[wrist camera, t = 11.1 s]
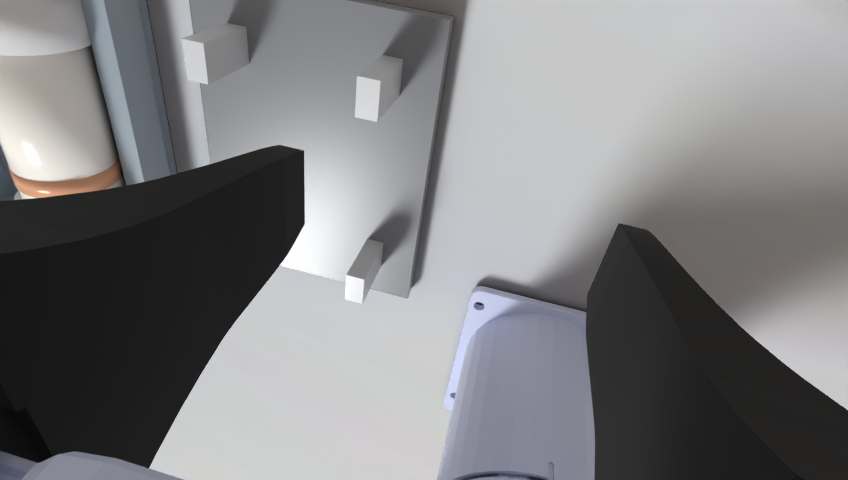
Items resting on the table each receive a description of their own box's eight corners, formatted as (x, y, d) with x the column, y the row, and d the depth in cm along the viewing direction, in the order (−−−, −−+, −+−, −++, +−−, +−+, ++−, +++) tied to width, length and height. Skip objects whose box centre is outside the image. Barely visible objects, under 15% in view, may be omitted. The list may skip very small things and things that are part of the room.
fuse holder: (411, 288, 25) (391, 338, 22) (230, 241, 26) (188, 283, 23) (454, 16, 18) (433, 37, 15) (197, -34, 19) (130, -23, 16)
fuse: (121, 185, 26) (154, 227, 24) (15, 210, 24) (40, 261, 21) (68, -23, 21) (104, 4, 18) (-81, -23, 18) (-62, 9, 15)
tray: (189, 245, 27) (163, 269, 25) (14, 199, 28) (-23, 219, 27) (133, -76, 18) (87, -74, 17) (-117, -122, 20) (-185, -125, 18)
